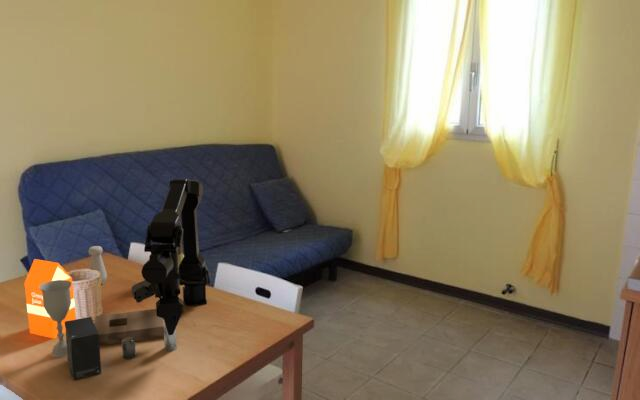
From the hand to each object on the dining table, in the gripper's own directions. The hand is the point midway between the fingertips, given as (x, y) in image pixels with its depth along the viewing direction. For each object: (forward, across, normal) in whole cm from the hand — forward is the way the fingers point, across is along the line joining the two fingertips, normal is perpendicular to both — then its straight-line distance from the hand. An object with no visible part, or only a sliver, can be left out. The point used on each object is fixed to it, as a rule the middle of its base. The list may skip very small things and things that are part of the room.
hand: (169, 326), depth 128 cm
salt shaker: (+6, -53, -21) cm, 57 cm away
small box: (+6, +3, -20) cm, 21 cm away
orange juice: (+6, -20, -30) cm, 37 cm away
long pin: (+6, 0, 0) cm, 6 cm away
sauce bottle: (+6, -48, +4) cm, 48 cm away
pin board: (+6, -13, -9) cm, 17 cm away
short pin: (+6, +1, -10) cm, 12 cm away
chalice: (+6, -6, -26) cm, 27 cm away
